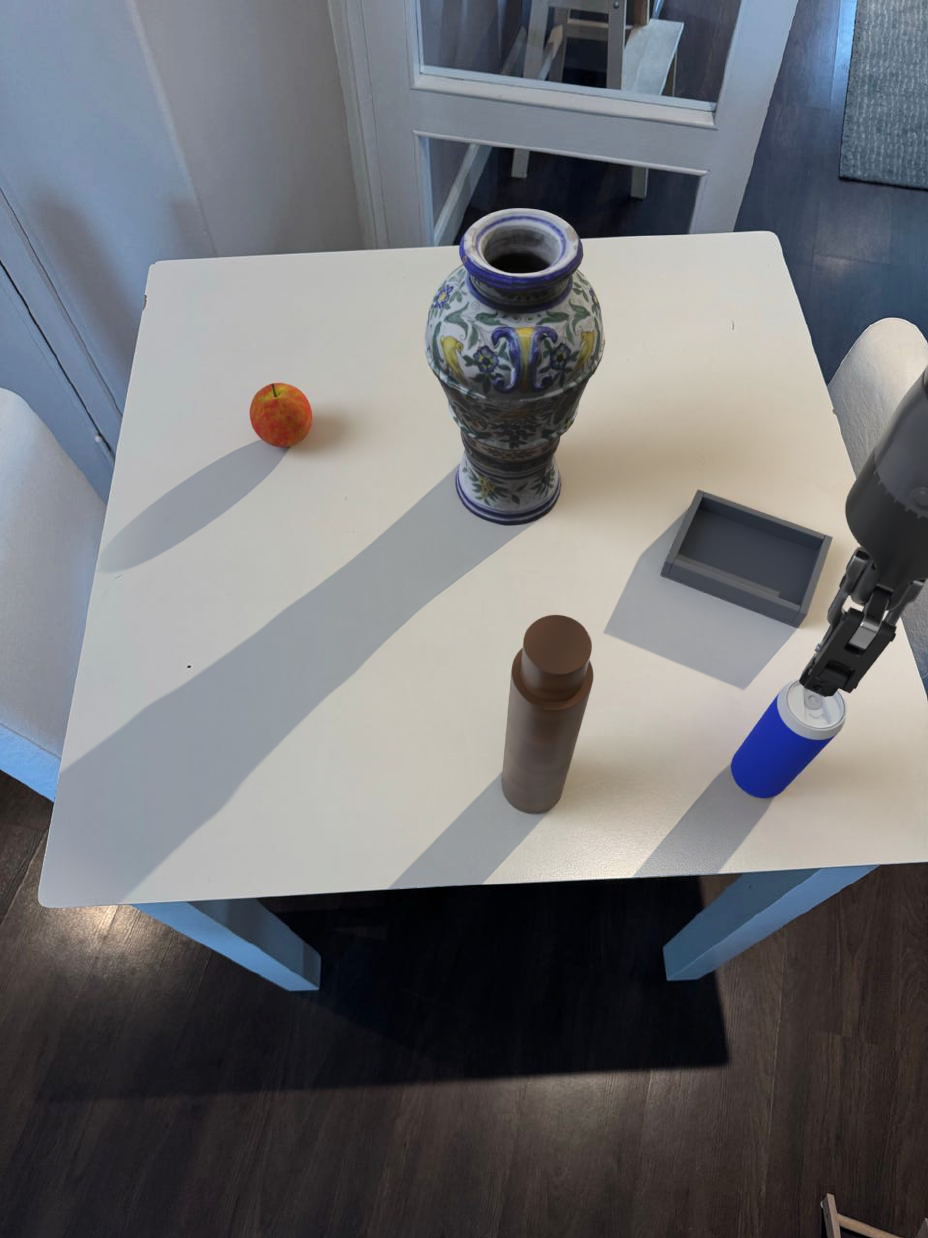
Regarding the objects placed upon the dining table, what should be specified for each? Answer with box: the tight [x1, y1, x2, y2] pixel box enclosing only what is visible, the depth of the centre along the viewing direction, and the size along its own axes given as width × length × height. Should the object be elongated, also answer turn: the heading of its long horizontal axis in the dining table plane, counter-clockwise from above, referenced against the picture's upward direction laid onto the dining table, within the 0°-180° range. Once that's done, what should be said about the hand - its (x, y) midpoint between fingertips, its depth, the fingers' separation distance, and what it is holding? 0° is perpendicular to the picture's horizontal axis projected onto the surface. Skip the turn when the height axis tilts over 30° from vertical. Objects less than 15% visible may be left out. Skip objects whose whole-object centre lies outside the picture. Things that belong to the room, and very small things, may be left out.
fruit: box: [249, 382, 313, 448], centre depth 94 cm, size 7×7×8 cm
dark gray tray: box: [660, 488, 834, 629], centre depth 87 cm, size 15×11×3 cm
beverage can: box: [730, 677, 848, 799], centre depth 70 cm, size 5×5×15 cm
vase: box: [423, 207, 606, 526], centre depth 81 cm, size 17×17×30 cm
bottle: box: [501, 614, 594, 815], centre depth 65 cm, size 6×6×26 cm
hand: (835, 637), depth 55 cm, fingers open, 8 cm apart
